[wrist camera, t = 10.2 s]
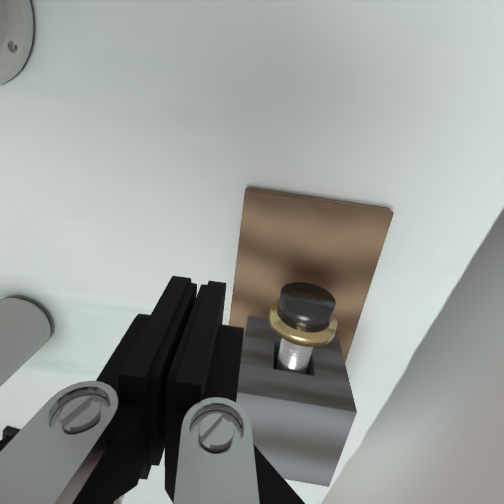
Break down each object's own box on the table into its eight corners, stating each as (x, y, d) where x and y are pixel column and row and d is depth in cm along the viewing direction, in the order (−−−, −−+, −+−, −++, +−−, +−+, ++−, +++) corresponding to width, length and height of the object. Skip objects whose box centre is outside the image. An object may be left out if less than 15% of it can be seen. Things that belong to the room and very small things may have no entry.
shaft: (274, 274, 30) (272, 310, 25) (337, 284, 30) (349, 322, 25) (250, 412, 38) (244, 462, 33) (299, 421, 38) (302, 473, 33)
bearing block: (246, 187, 31) (226, 228, 20) (388, 208, 31) (447, 261, 20) (223, 375, 42) (202, 471, 31) (330, 393, 41) (347, 496, 30)
